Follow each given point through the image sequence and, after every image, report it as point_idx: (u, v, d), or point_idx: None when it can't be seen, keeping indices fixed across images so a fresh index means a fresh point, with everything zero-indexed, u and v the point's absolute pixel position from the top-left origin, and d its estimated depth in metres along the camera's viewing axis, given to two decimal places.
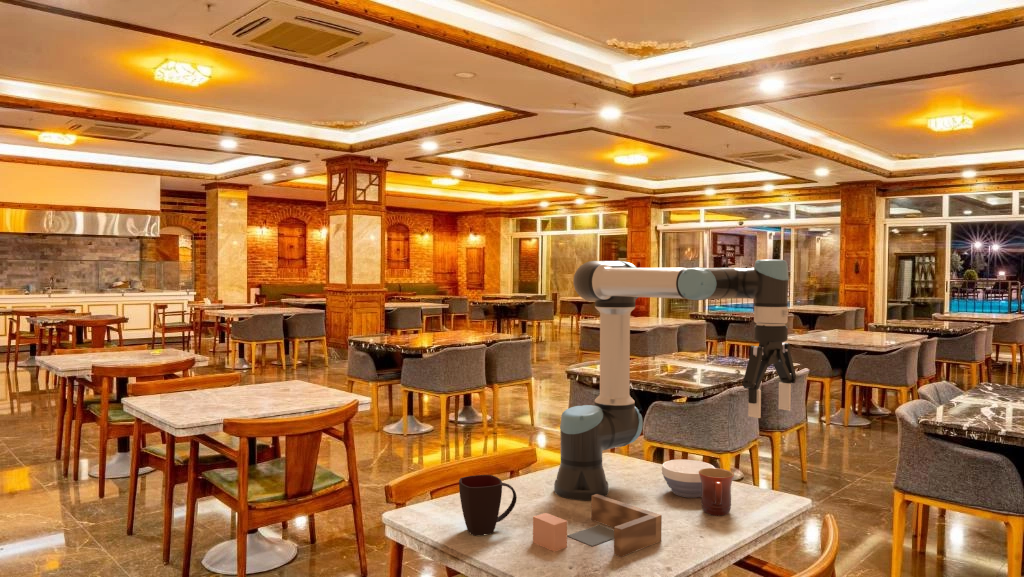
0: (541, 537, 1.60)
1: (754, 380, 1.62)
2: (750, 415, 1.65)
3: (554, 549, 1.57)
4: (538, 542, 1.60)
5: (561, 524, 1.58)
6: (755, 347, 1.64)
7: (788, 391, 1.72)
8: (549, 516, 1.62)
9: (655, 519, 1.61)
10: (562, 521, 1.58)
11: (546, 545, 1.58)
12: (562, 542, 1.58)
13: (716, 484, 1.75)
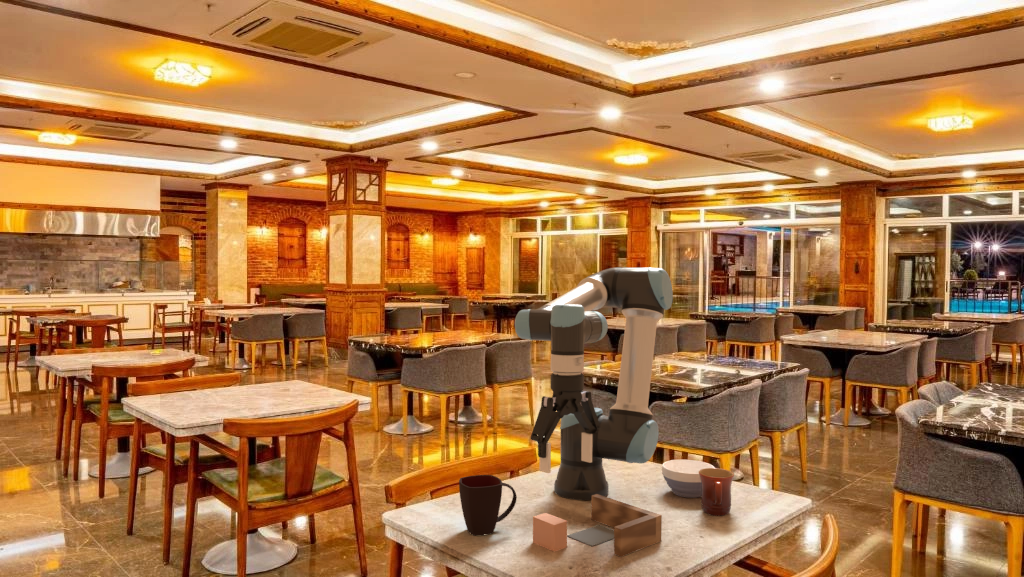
0: (541, 537, 1.60)
1: (541, 433, 1.53)
2: (541, 470, 1.56)
3: (554, 549, 1.57)
4: (538, 542, 1.60)
5: (561, 524, 1.58)
6: (546, 398, 1.56)
7: (589, 442, 1.64)
8: (549, 516, 1.62)
9: (655, 519, 1.61)
10: (561, 521, 1.58)
11: (546, 545, 1.58)
12: (562, 542, 1.58)
13: (716, 484, 1.75)
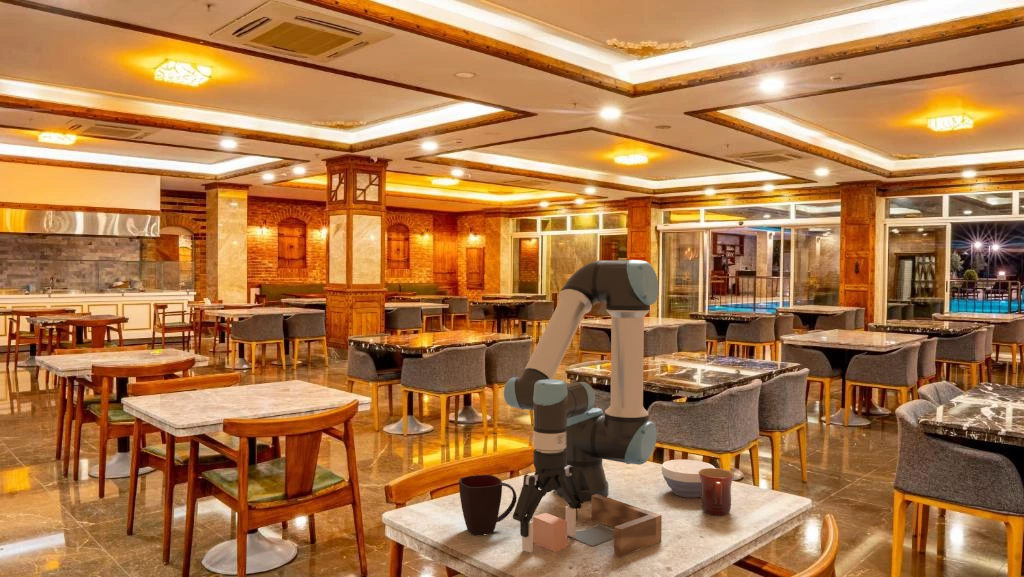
0: (541, 537, 1.60)
1: (523, 513, 1.53)
2: (523, 548, 1.56)
3: (554, 549, 1.57)
4: (538, 542, 1.60)
5: (561, 524, 1.58)
6: (527, 476, 1.56)
7: (573, 517, 1.64)
8: (549, 516, 1.62)
9: (655, 519, 1.61)
10: (562, 521, 1.58)
11: (546, 545, 1.58)
12: (562, 542, 1.58)
13: (716, 484, 1.75)
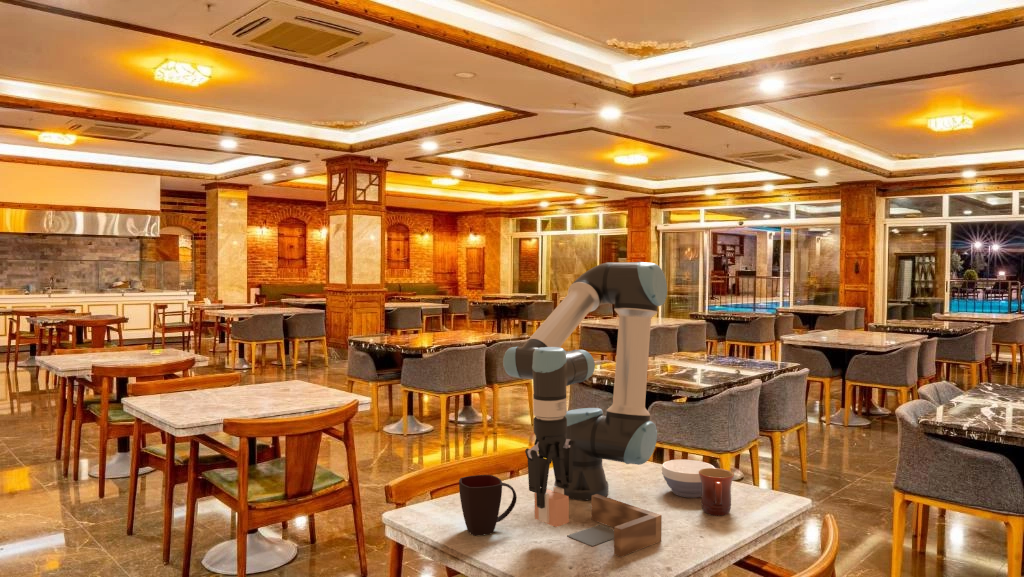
0: None
1: (537, 485, 1.56)
2: (540, 519, 1.60)
3: (556, 524, 1.57)
4: None
5: (563, 500, 1.58)
6: (528, 452, 1.56)
7: None
8: (551, 492, 1.62)
9: (655, 519, 1.61)
10: (563, 497, 1.59)
11: None
12: (564, 517, 1.58)
13: (716, 484, 1.75)
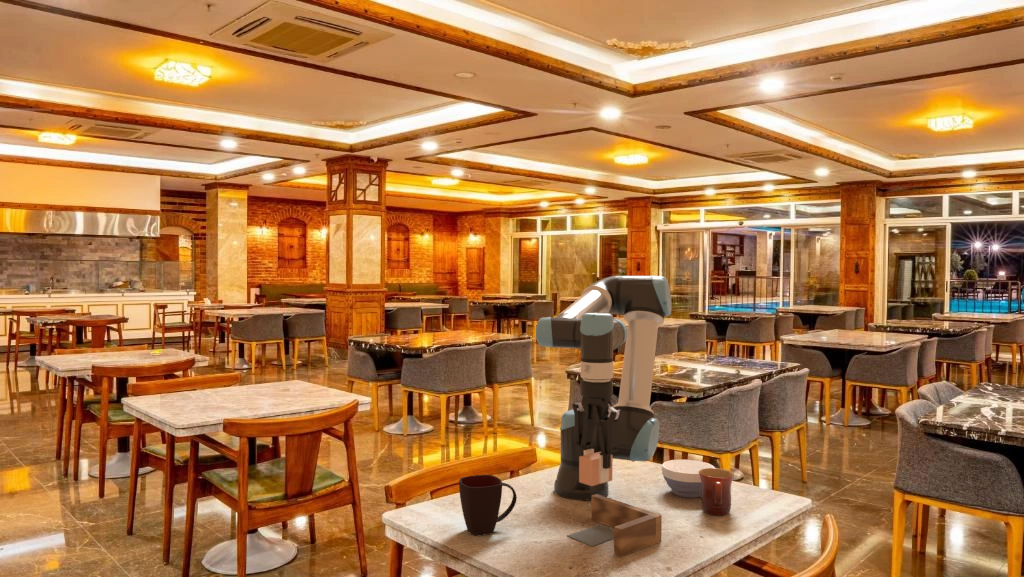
0: None
1: (576, 437, 1.68)
2: None
3: (579, 480, 1.65)
4: None
5: (586, 460, 1.63)
6: None
7: None
8: None
9: (655, 519, 1.61)
10: (589, 458, 1.63)
11: None
12: (587, 478, 1.63)
13: (716, 484, 1.75)
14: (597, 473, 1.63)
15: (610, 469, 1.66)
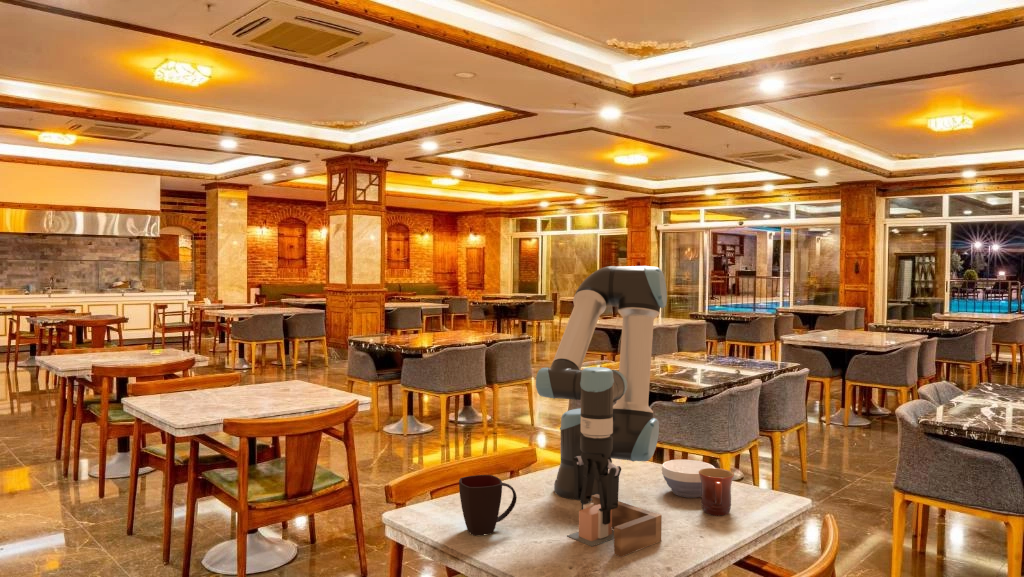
0: None
1: (576, 491, 1.69)
2: None
3: (579, 534, 1.65)
4: None
5: (586, 515, 1.63)
6: None
7: None
8: None
9: (655, 519, 1.61)
10: (588, 513, 1.63)
11: None
12: (586, 532, 1.63)
13: (716, 484, 1.75)
14: (597, 528, 1.63)
15: (610, 523, 1.66)
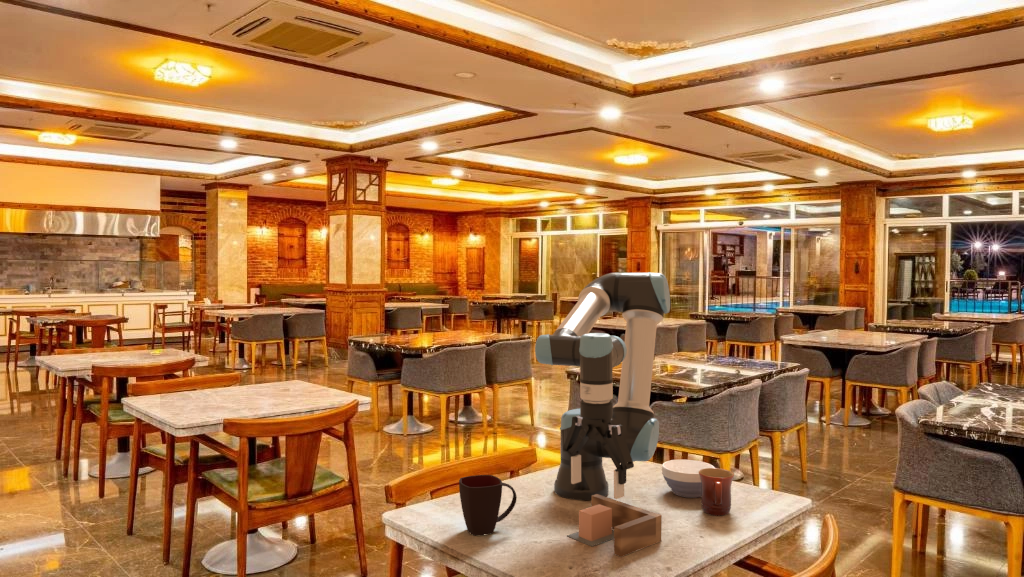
0: None
1: (565, 445, 1.72)
2: None
3: (579, 534, 1.65)
4: None
5: (586, 515, 1.63)
6: None
7: None
8: (602, 509, 1.66)
9: (655, 519, 1.61)
10: (588, 513, 1.63)
11: None
12: (586, 532, 1.63)
13: (716, 484, 1.75)
14: (597, 528, 1.63)
15: (610, 523, 1.66)
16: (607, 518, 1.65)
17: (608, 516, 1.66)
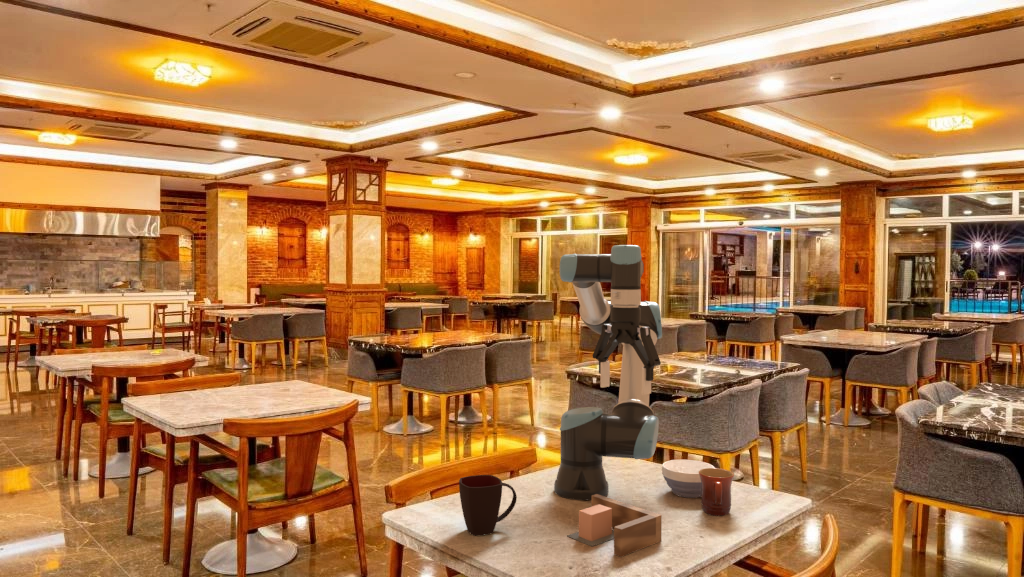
0: None
1: (595, 352, 1.85)
2: None
3: (579, 534, 1.65)
4: None
5: (586, 515, 1.63)
6: None
7: None
8: (602, 509, 1.66)
9: (655, 519, 1.61)
10: (588, 513, 1.63)
11: None
12: (586, 532, 1.63)
13: (716, 484, 1.75)
14: (597, 528, 1.63)
15: (610, 523, 1.66)
16: (607, 518, 1.65)
17: (608, 516, 1.66)
